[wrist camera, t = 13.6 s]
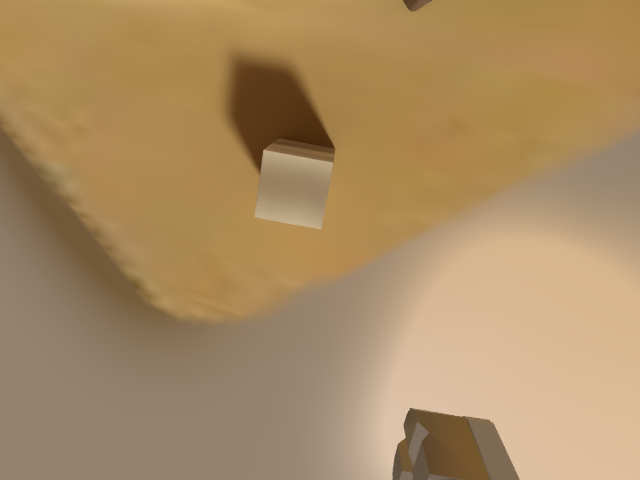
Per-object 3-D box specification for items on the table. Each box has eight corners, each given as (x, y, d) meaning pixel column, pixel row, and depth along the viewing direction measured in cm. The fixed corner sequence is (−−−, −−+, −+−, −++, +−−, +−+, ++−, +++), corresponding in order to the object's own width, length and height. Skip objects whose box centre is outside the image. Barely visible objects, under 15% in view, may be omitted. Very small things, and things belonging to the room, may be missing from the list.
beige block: (278, 138, 31) (263, 149, 25) (335, 148, 31) (333, 162, 25) (271, 193, 33) (254, 217, 27) (325, 203, 33) (321, 229, 27)
